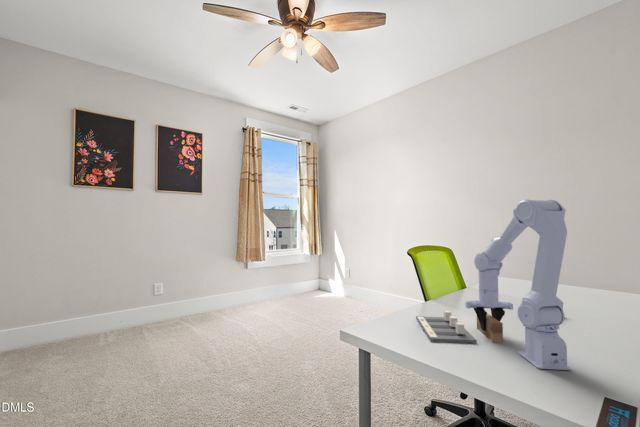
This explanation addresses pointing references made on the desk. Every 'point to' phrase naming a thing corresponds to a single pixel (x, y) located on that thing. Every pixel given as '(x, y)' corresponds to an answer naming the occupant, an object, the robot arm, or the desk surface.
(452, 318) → the tab
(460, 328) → the beige small block
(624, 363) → the desk surface
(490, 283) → the robot arm
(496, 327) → the pusher bar
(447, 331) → the switch board
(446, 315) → the tab
